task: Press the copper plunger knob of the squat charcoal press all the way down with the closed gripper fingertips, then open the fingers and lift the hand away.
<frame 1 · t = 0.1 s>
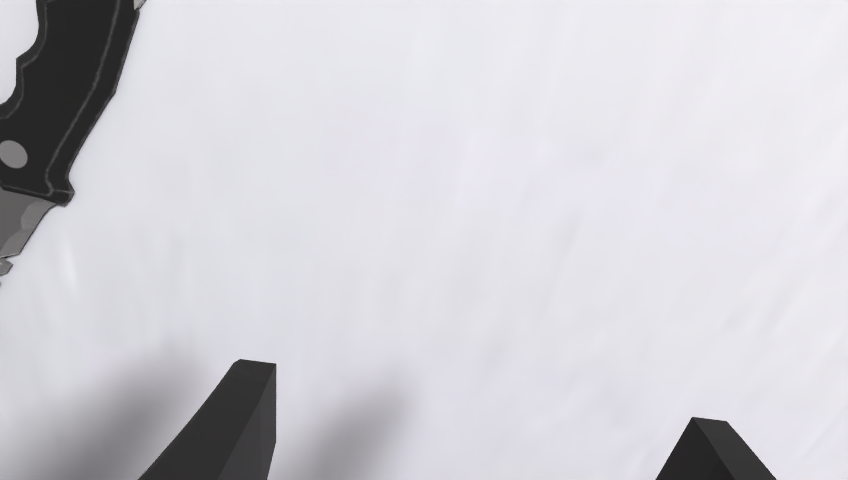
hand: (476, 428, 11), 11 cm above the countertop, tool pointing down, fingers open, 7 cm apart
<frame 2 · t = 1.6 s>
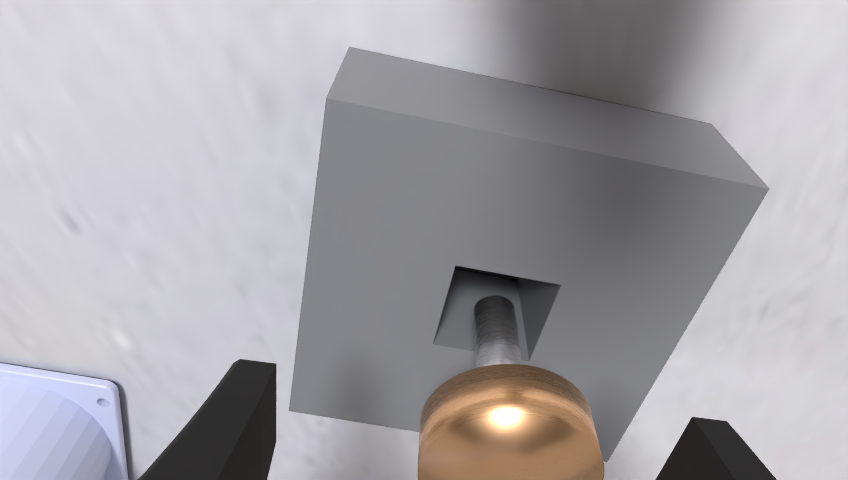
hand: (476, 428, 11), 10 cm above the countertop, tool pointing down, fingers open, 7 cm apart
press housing: (487, 238, 21), on the countertop
plunger: (500, 382, 16), point 7 cm above the countertop, slide at 3.5 cm
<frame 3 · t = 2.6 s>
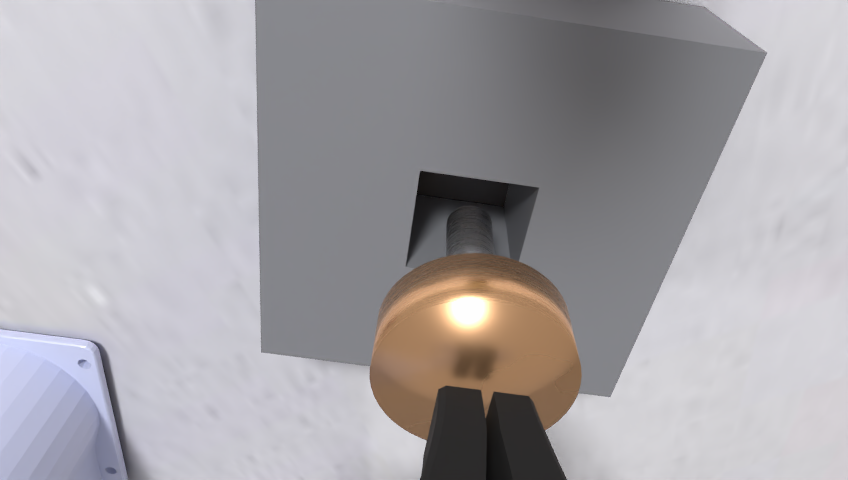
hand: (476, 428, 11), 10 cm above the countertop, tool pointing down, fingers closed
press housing: (466, 159, 19), on the countertop
plunger: (471, 290, 14), point 7 cm above the countertop, slide at 3.5 cm
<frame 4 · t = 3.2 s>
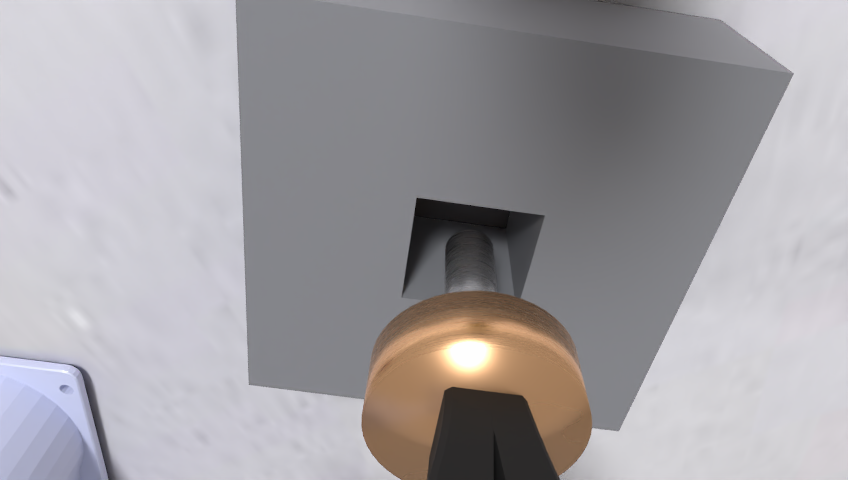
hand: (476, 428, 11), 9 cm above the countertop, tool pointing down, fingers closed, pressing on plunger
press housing: (466, 180, 18), on the countertop
plunger: (471, 324, 13), point 6 cm above the countertop, slide at 3.3 cm, touching gripper
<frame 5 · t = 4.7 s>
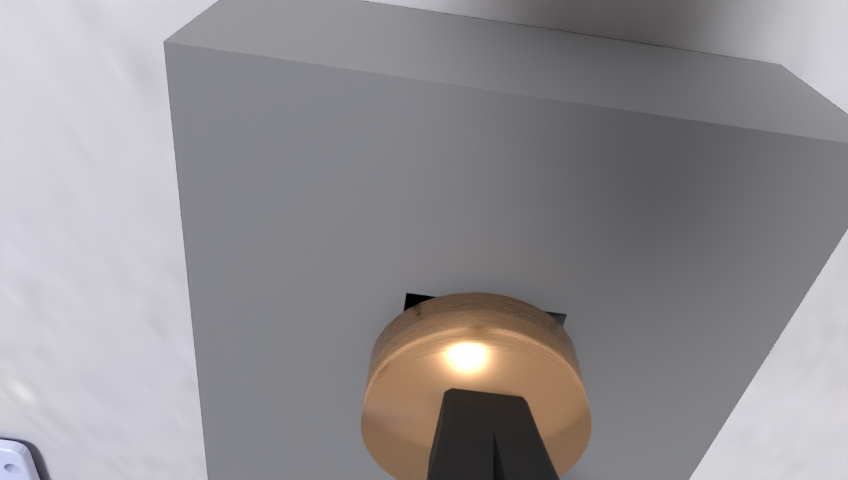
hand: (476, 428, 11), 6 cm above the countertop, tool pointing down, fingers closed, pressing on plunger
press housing: (468, 246, 15), on the countertop
plunger: (471, 325, 13), point 3 cm above the countertop, slide at -0.1 cm, touching gripper
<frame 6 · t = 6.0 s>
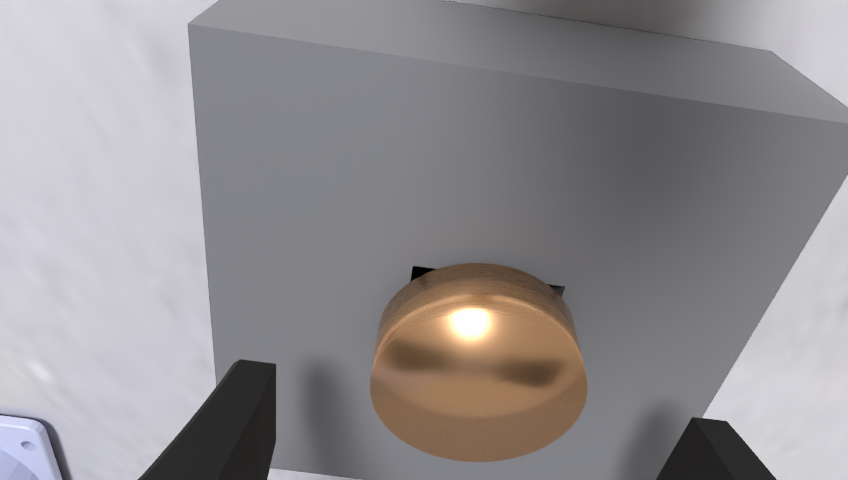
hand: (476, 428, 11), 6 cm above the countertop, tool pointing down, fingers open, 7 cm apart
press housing: (471, 227, 16), on the countertop
plunger: (474, 299, 14), point 3 cm above the countertop, slide at -0.1 cm
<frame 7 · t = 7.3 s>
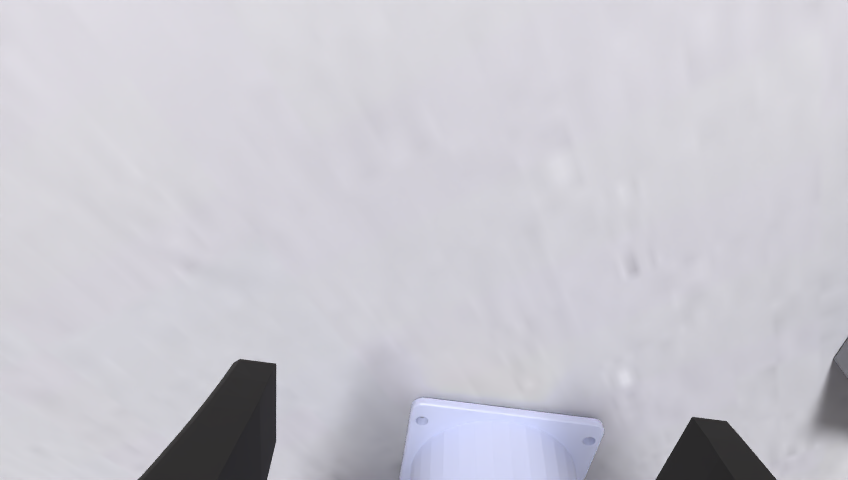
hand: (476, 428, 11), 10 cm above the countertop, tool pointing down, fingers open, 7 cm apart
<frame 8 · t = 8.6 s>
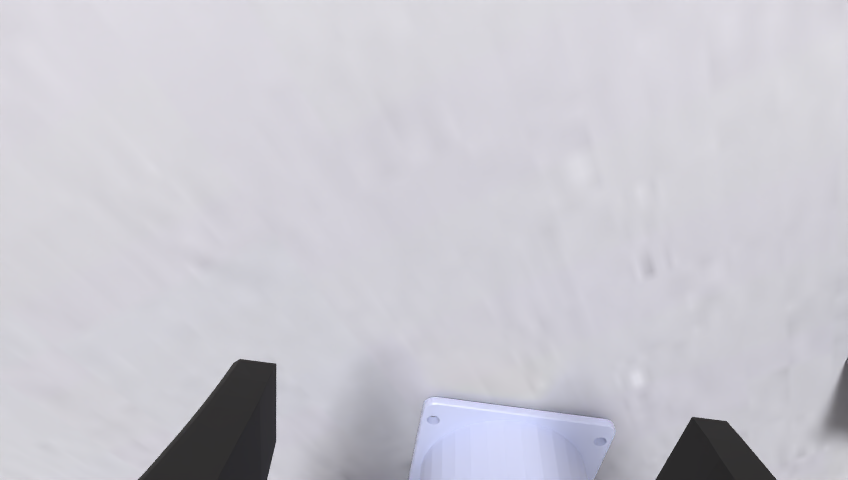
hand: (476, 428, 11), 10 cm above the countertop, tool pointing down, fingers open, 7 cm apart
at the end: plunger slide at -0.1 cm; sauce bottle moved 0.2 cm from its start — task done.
